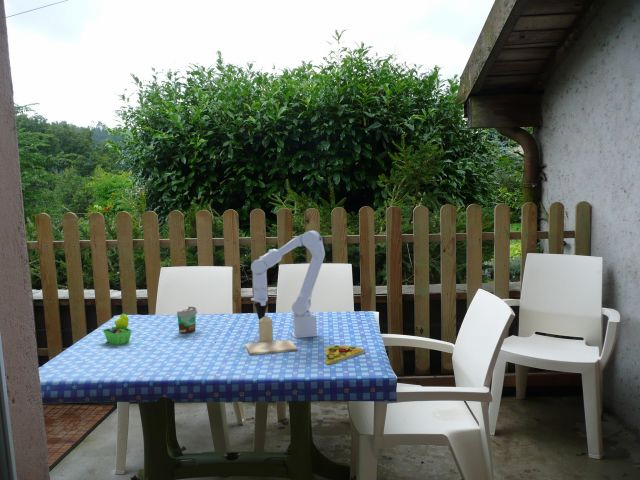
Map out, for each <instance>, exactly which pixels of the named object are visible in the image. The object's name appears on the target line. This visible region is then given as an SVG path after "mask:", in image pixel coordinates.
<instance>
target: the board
mask: <svg viewBox="0 0 640 480" xmlns="http://www.w3.org/2000/svg"><path fill="white" fill-rule="evenodd" d="M244 346H245V348H246V350H247V352H248V355H249V356H255V355H256V356H257V355H264V354H265V355H266V354H267V355H268V354H275V353H285V352H286V353H287V352H295V351H296V352H297V351H298V347H297V346H296V345H295V344H294V342H292V340H291V339H288V340H287V339H285V340H273V341H272V342H262V343H261V342H252V343H245V345H244Z"/></svg>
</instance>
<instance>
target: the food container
mask: <svg viewBox="0 0 640 480" xmlns="http://www.w3.org/2000/svg"><path fill="white" fill-rule="evenodd" d="M197 314H198V309H197V308H196V307H195V306H190V305H189V306H188V308H187V309H183V310H181V311H177V313H176V317H177V323H178V334H179V335H182V334H183V335H185V334H190V333H191V334H192V333H194V332H196V325H197V324H196V323H197V322H196V319H197Z"/></svg>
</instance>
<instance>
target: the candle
mask: <svg viewBox="0 0 640 480" xmlns="http://www.w3.org/2000/svg"><path fill="white" fill-rule="evenodd" d="M273 327H274V326H273V319H272V318H271V317H270V316H266V315H265V316H264V317H262V318H261V319H260V320H259V319H258V340H259V342H258V343H262V342H273V341H274V333H273V332H274V331H273V330H274V329H273Z"/></svg>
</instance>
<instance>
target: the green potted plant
mask: <svg viewBox="0 0 640 480" xmlns="http://www.w3.org/2000/svg"><path fill="white" fill-rule="evenodd" d="M129 320H130V317H129V316H128V314H126V313H121V314H120V316H119V317H118V318H116V320H114V324H115V326H111V328H106V329H103V330H102V332H103V334H104V335H105V336H104V337H105V339H106V342H107V343H111V344H114V345H117V346H118V345H122V344H126V343H130V338H131V334H132V331H133V330H132V329H130V328H128V327H129V323H130V322H129Z"/></svg>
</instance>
